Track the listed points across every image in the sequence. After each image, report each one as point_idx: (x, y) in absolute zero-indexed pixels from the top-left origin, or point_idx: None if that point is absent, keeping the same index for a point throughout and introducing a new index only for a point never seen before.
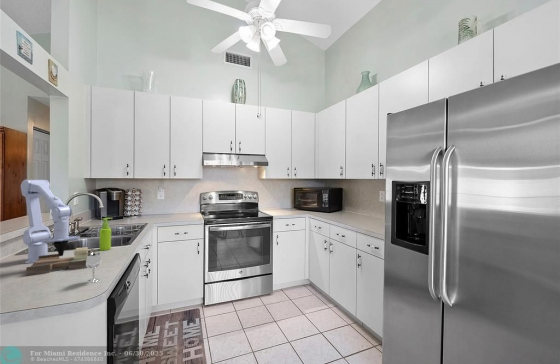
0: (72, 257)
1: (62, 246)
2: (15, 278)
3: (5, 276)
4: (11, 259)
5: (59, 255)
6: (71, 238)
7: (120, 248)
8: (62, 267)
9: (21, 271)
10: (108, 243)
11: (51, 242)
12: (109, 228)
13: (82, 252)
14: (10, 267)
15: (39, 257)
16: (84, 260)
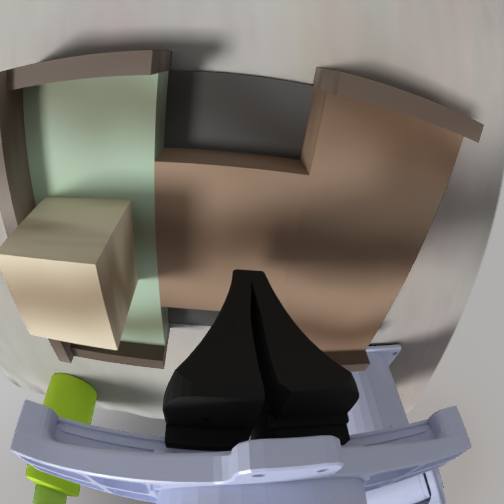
0: (167, 294)
1: (232, 352)
2: (481, 98)
3: (499, 180)
4: (408, 393)
5: (260, 273)
6: (91, 462)
7: (14, 364)
8: (225, 141)
9: (444, 226)
10: (45, 404)
11: (371, 432)
12: (32, 481)
13: (38, 238)
14: (448, 315)
15: (364, 356)
16: (19, 67)
